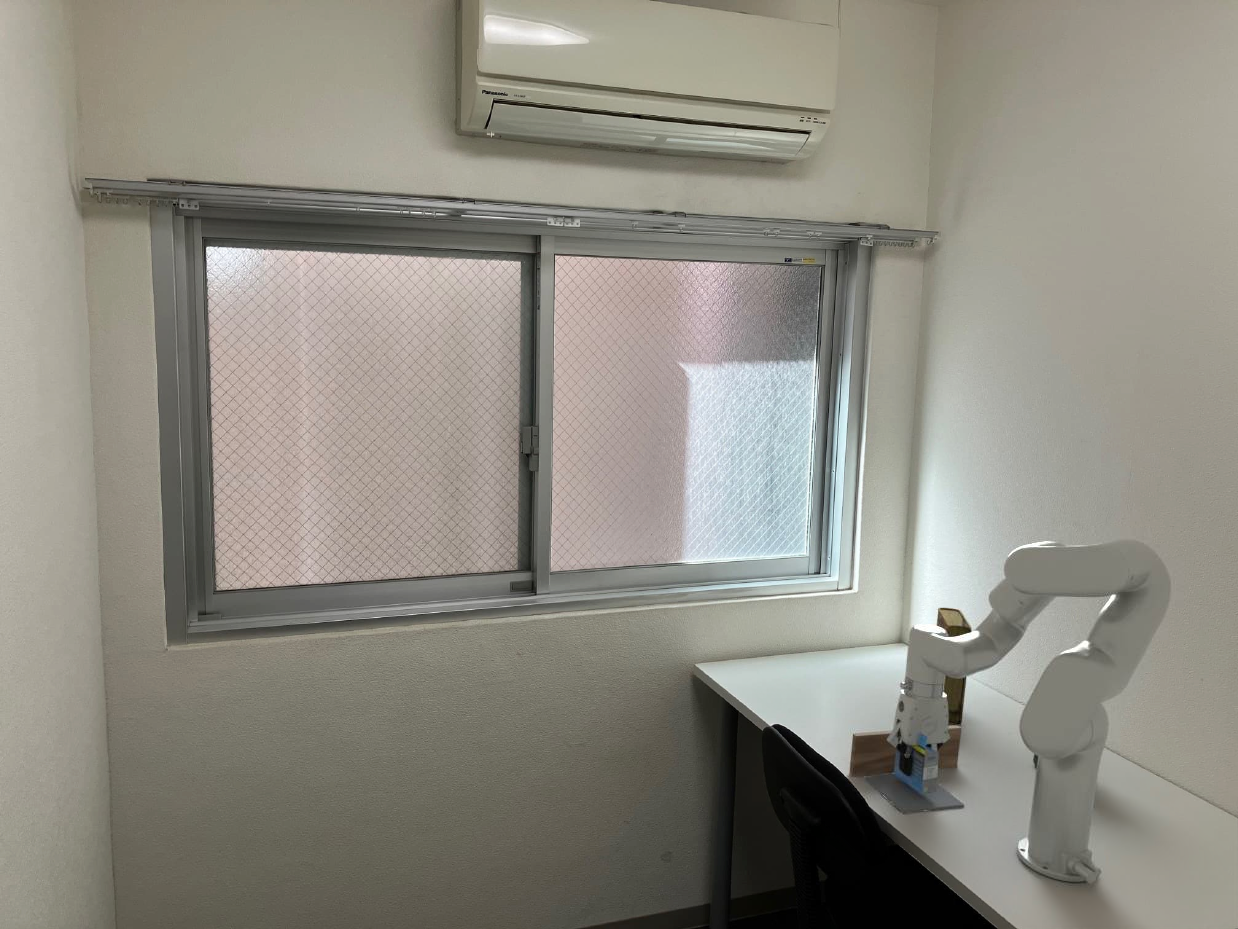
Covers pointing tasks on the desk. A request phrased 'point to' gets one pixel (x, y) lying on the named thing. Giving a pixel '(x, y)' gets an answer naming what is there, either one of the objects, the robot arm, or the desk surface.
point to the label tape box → (920, 767)
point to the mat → (912, 795)
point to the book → (953, 687)
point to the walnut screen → (893, 752)
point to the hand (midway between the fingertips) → (915, 771)
